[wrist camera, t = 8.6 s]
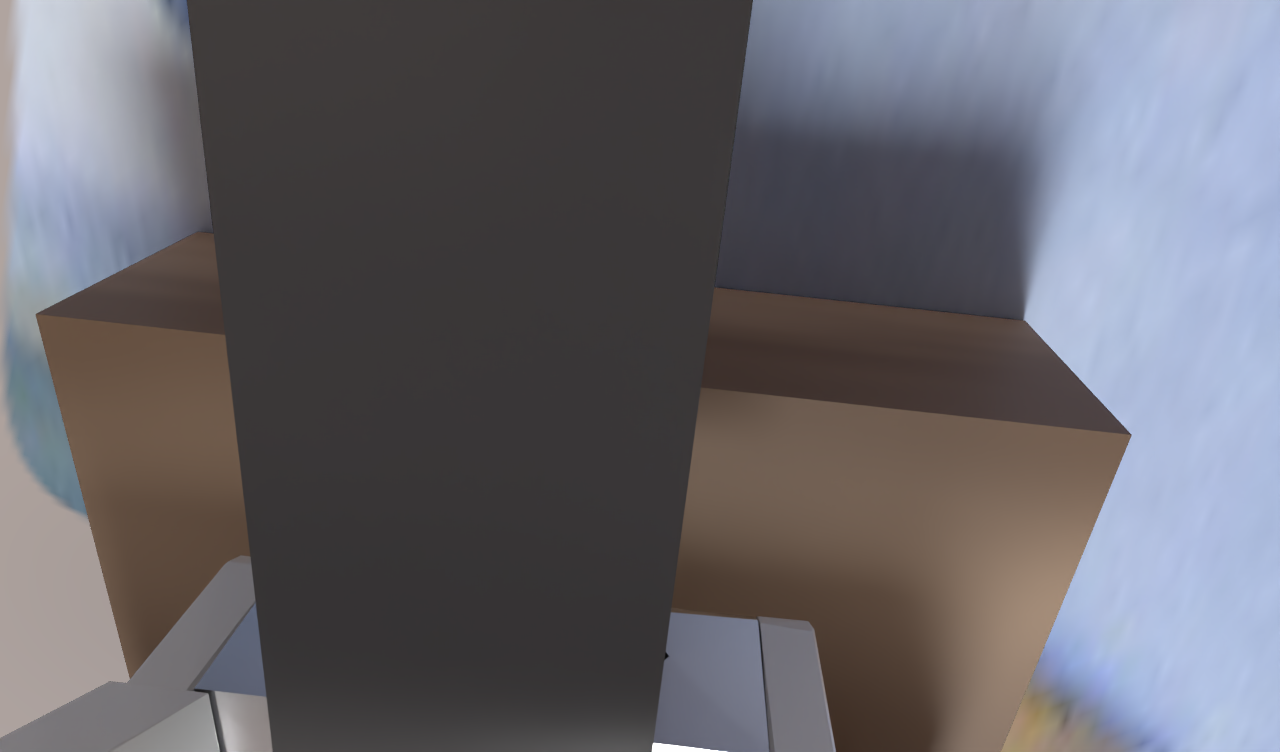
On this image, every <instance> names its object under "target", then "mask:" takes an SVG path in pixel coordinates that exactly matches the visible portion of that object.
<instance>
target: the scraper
mask: <svg viewBox="0 0 1280 752" xmlns="http://www.w3.org/2000/svg"><path fill="white" fill-rule="evenodd" d="M752 2H753V0H187V6H188V15H189V23H190V32H191V41H192V50H193V58H194V67H195V76H196V85H197V93H198V102H199V111H200V120H201V128H202V137H203V146H204V155H205V163H206V172H207V181H208V190H209V198H210V207H211V216H212V225H213V233H214V242H215V251H216V260H217V269H218V277H219V286H220V295H221V304H222V312H223V321H224V330H225V339H226V347H227V356H228V365H229V374H230V382H231V391H232V400H233V409H234V417H235V426H236V435H237V444H238V452H239V461H240V470H241V479H242V487H243V496H244V505H245V514H246V522H247V531H248V540H249V549H250V557H251V566H252V575H253V584H254V592H255V601H256V610H257V619H258V627H259V636H260V645H261V654H262V662H263V671H264V680H265V689H266V697H267V706H268V715H269V724H270V732H271V741H272V750H273V752H652V749H653V742H654V734H655V727H656V719H657V712H658V704H659V697H660V689H661V682H662V674H663V667H664V659H665V652H666V644H667V637H668V630H669V622H670V615H671V607H672V600H673V592H674V585H675V577H676V570H677V562H678V555H679V547H680V540H681V532H682V525H683V518H684V510H685V503H686V495H687V488H688V480H689V473H690V465H691V458H692V450H693V443H694V435H695V428H696V421H697V413H698V406H699V398H700V391H701V383H702V376H703V368H704V361H705V353H706V346H707V338H708V331H709V323H710V316H711V308H712V301H713V294H714V286H715V279H716V271H717V264H718V256H719V249H720V241H721V234H722V226H723V219H724V211H725V204H726V197H727V189H728V182H729V174H730V167H731V159H732V152H733V144H734V137H735V129H736V122H737V114H738V107H739V99H740V92H741V85H742V77H743V70H744V62H745V55H746V47H747V40H748V32H749V25H750V17H751V10H752Z"/></svg>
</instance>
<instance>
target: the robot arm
mask: <svg viewBox="0 0 1280 752" xmlns="http://www.w3.org/2000/svg"><path fill="white" fill-rule="evenodd" d="M0 752H273V750H272V741H271V732H270V724H269V715H268V706H267V697H266V689H265V680H264V671H263V662H262V654H261V645H260V636H259V627H258V619H257V610H256V601H255V592H254V584H253V575H252V566H251V557H249V556H242V555H241V556H239V557H237V558H234V559H232V560H230V561H228V562H227V563H226V564H225V565H224V566H223V567H222V568H221V569H220V570H219V572H218V573H217V574H216V575H215V577H214V578H213V579H212V580H211V581H210V583H209V584H208V585H207V586H206V587H205V589H204V590H203V591H202V592H201V594H200V595H199V596H198V597H197V598H196V600H195V601H194V602H193V603H192V605H191V606H190V607H189V608H188V609H187V611H186V612H185V613H184V614H183V615H182V617H181V618H180V619H179V620H178V622H177V623H176V624H175V625H174V626H173V628H172V629H171V630H170V631H169V632H168V634H167V635H166V636H165V637H164V639H163V640H162V641H161V642H160V643H159V645H158V646H157V647H156V648H155V650H154V651H153V652H152V653H151V654H150V656H149V657H148V658H147V659H146V660H145V662H144V663H143V664H142V665H141V667H140V668H139V669H138V670H137V671H136V673H135V674H134V675H133V676H132V678H131V679H130V680H129V681H128V682H127V683H121V682H111V681H110V682H108V683H106V684H104V685H102V686H100V687H98V688H96V689H94V690H92V691H91V692H88V693H86V694H84V695H83V696H81V697H79V698H77V699H75V700H73V701H71V702H69V703H67V704H65V705H63V706H61V707H60V708H58V709H56V710H54V711H52V712H50V713H48V714H46V715H44V716H42V717H40V718H38V719H36V720H34V721H33V722H30V723H28V724H27V725H25V726H23V727H21V728H19V729H17V730H15V731H13V732H11V733H9V734H7V735H5V736H3V737H1V738H0ZM652 752H836V749H835V743H834V738H833V732H832V726H831V721H830V715H829V710H828V704H827V698H826V693H825V687H824V682H823V676H822V670H821V665H820V659H819V654H818V648H817V642H816V637H815V631H814V628H813V627H812V625H811V624H810V623H809V621H802V620H791V619H781V618H771V617H761V616H757V617H756V618H754V617H752V616H743V615H734V614H725V613H715V612H706V611H697V610H688V609H679V608H671V615H670V622H669V630H668V637H667V644H666V652H665V659H664V667H663V674H662V682H661V689H660V697H659V704H658V712H657V719H656V727H655V734H654V742H653V749H652Z"/></svg>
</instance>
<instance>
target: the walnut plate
mask: <svg viewBox="0 0 1280 752" xmlns="http://www.w3.org/2000/svg"><path fill="white" fill-rule="evenodd" d="M36 318H37V322H38V325H39V329H40V333H41V337H42V341H43V345H44V349H45V352H46V356H47V360H48V364H49V368H50V372H51V376H52V379H53V383H54V387H55V391H56V395H57V399H58V403H59V407H60V410H61V414H62V418H63V422H64V426H65V430H66V434H67V437H68V441H69V445H70V449H71V453H72V457H73V461H74V464H75V468H76V472H77V476H78V480H79V484H80V488H81V492H82V495H83V499H84V503H85V507H86V511H87V515H88V519H89V522H90V526H91V530H92V534H93V538H94V542H95V545H96V549H97V553H98V557H99V561H100V565H101V568H102V573H103V577H104V580H105V584H106V588H107V592H108V596H109V600H110V603H111V607H112V611H113V615H114V619H115V623H116V626H117V630H118V634H119V638H120V642H121V646H122V650H123V653H124V658H125V662H126V665H127V669H128V673H129V677H130V679H131V678H132V676H133V675H134V674H135V673H136V671H137V670H138V669H139V668H140V667H141V665H142V664H143V663H144V662H145V660H146V659H147V658H148V657H149V656H150V654H151V653H152V652H153V651H154V650H155V648H156V647H157V646H158V645H159V643H160V642H161V641H162V640H163V639H164V637H165V636H166V635H167V634H168V632H169V631H170V630H171V629H172V628H173V626H174V625H175V624H176V623H177V622H178V620H179V619H180V618H181V617H182V615H183V614H184V613H185V612H186V611H187V609H188V608H189V607H190V606H191V605H192V603H193V602H194V601H195V600H196V598H197V597H198V596H199V595H200V594H201V592H202V591H203V590H204V589H205V587H206V586H207V585H208V584H209V583H210V581H211V580H212V579H213V578H214V577H215V575H216V574H217V573H218V572H219V570H220V569H221V568H222V567H223V566H224V565H225V564H226V563H227V562H228V561H230V560H232V559H234V558H237V557H239V556H241V555H242V556H249V557H250V549H249V540H248V531H247V522H246V514H245V505H244V496H243V487H242V479H241V470H240V461H239V452H238V444H237V435H236V426H235V417H234V409H233V400H232V391H231V382H230V374H229V365H228V356H227V347H226V339H225V330H224V321H223V312H222V304H221V295H220V286H219V277H218V269H217V260H216V251H215V242H214V233H205V232H196V233H194V234H192V235H190V236H188V237H186V238H184V239H182V240H180V241H178V242H176V243H174V244H173V245H171V246H169V247H167V248H165V249H163V250H161V251H159V252H157V253H155V254H153V255H151V256H149V257H147V258H145V259H143V260H141V261H139V262H137V263H135V264H133V265H131V266H129V267H127V268H125V269H123V270H121V271H119V272H117V273H115V274H113V275H112V276H110V277H108V278H106V279H104V280H102V281H100V282H98V283H96V284H94V285H92V286H90V287H88V288H86V289H84V290H82V291H80V292H78V293H76V294H74V295H72V296H70V297H68V298H66V299H64V300H62V301H60V302H58V303H56V304H54V305H52V306H51V307H49V308H47V309H45V310H43V311H41V312H39V313H37V314H36ZM1130 438H1131V434H1130V433H1129V432H1128V431H1127V430H1126V428H1125V427H1124V426H1123V425H1122V424H1121V423H1120V422H1119V421H1118V420H1117V419H1116V418H1115V417H1114V416H1113V415H1112V413H1111V412H1110V411H1109V410H1108V409H1107V408H1106V407H1105V406H1104V405H1103V404H1102V403H1101V402H1100V401H1099V400H1098V398H1097V397H1096V396H1095V395H1094V394H1093V393H1092V392H1091V391H1090V390H1089V389H1088V388H1087V387H1086V386H1085V385H1084V383H1083V382H1082V381H1081V380H1080V379H1079V378H1078V377H1077V376H1076V375H1075V374H1074V373H1073V372H1072V371H1071V369H1070V368H1069V367H1068V366H1067V365H1066V364H1065V363H1064V362H1063V361H1062V360H1061V359H1060V358H1059V357H1058V356H1057V354H1056V353H1055V352H1054V351H1053V350H1052V349H1051V348H1050V347H1049V346H1048V345H1047V344H1046V343H1045V342H1044V341H1043V339H1042V338H1041V337H1040V336H1039V335H1038V334H1037V333H1036V332H1035V331H1034V330H1033V329H1032V328H1031V327H1030V326H1029V324H1028V323H1027V322H1026V321H1023V320H1014V319H1004V318H995V317H986V316H976V315H967V314H958V313H949V312H939V311H930V310H921V309H911V308H902V307H893V306H883V305H874V304H865V303H856V302H846V301H837V300H828V299H818V298H809V297H800V296H790V295H781V294H772V293H763V292H753V291H744V290H735V289H725V288H716V287H714V294H713V301H712V308H711V316H710V323H709V331H708V338H707V346H706V353H705V361H704V368H703V376H702V383H701V391H700V398H699V406H698V413H697V421H696V428H695V435H694V443H693V450H692V458H691V465H690V473H689V480H688V488H687V495H686V503H685V510H684V518H683V525H682V532H681V540H680V547H679V555H678V562H677V570H676V577H675V585H674V592H673V600H672V607H671V608H679V609H688V610H697V611H706V612H715V613H725V614H734V615H743V616H752V617H754V618H756V617H757V616H761V617H771V618H781V619H791V620H802V621H809V623H810V624H811V625H812V627H813V628H814V631H815V637H816V642H817V648H818V654H819V659H820V665H821V670H822V676H823V682H824V687H825V693H826V698H827V704H828V710H829V715H830V721H831V726H832V732H833V738H834V743H835V749H836V752H1001V750H1002V748H1003V745H1004V743H1005V741H1006V738H1007V736H1008V733H1009V731H1010V728H1011V726H1012V724H1013V721H1014V719H1015V716H1016V714H1017V711H1018V709H1019V707H1020V704H1021V702H1022V699H1023V697H1024V695H1025V692H1026V690H1027V687H1028V685H1029V682H1030V680H1031V678H1032V675H1033V673H1034V670H1035V668H1036V665H1037V663H1038V661H1039V658H1040V656H1041V653H1042V651H1043V648H1044V646H1045V644H1046V641H1047V639H1048V636H1049V634H1050V632H1051V629H1052V627H1053V624H1054V622H1055V619H1056V617H1057V615H1058V612H1059V610H1060V607H1061V605H1062V602H1063V600H1064V598H1065V595H1066V593H1067V590H1068V588H1069V585H1070V583H1071V581H1072V578H1073V576H1074V573H1075V571H1076V569H1077V566H1078V564H1079V561H1080V559H1081V556H1082V554H1083V552H1084V549H1085V547H1086V544H1087V542H1088V539H1089V537H1090V535H1091V532H1092V530H1093V527H1094V525H1095V522H1096V520H1097V518H1098V515H1099V513H1100V510H1101V508H1102V506H1103V503H1104V501H1105V498H1106V496H1107V493H1108V491H1109V489H1110V486H1111V484H1112V481H1113V479H1114V476H1115V474H1116V472H1117V469H1118V467H1119V464H1120V462H1121V460H1122V457H1123V455H1124V452H1125V450H1126V447H1127V445H1128V443H1129V440H1130Z"/></svg>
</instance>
